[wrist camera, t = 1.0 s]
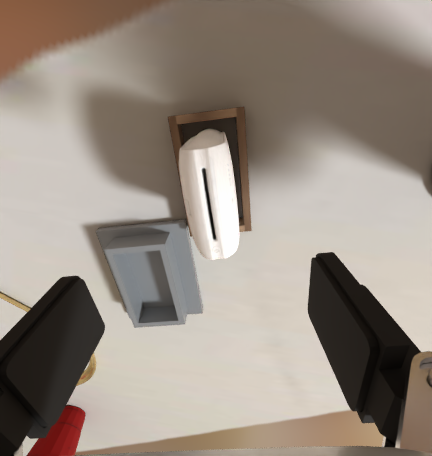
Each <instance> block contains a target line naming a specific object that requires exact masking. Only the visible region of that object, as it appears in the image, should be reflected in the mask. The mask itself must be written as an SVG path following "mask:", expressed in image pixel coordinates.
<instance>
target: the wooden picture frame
mask: <svg viewBox="0 0 432 456" xmlns="http://www.w3.org/2000/svg"><path fill="white" fill-rule="evenodd" d="M231 117H235V118H236V132H237V145H238V159H239V172H240V186H241V200H242V213H243V217H240V218H239V232H243V231H251V215H250V197H249V180H248V162H247V144H246V127H245V109H244V107H237V108H230V109H222V110H215V111H207V112H200V113H192V114H185V115H177V116H170V117H168V121H169V126H170V132H171V137H172V142H173V147H174V153H175V158H176V163H177V168H178V174H179V179H180V172H179V150H180V148H181V147H182V146H183V145H184V138H183V132H182V126H181V124H185V123H192V122H200V121H208V120H215V119H223V118H231ZM180 184H181V180H180ZM181 189H182V186H181ZM182 195H183V192H182ZM183 200H184V198H183ZM184 205H185V203H184ZM185 211H186V208H185ZM186 216H187V213H186ZM187 221H188V217H187ZM188 226H189V232H190V237H191V236H192V233H191V229H190V225H189V221H188Z"/></svg>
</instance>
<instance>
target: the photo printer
mask: <svg viewBox="0 0 432 456" xmlns="http://www.w3.org/2000/svg"><path fill="white" fill-rule="evenodd" d="M179 172H180V180H181V186H182V192H183V198H184V203H185V208H186V213H187V217H188V221H189V225H190V229H191V233H192V236H193V239H194V241H195V244H196V246H197V248H198V250H199V252H200V253H201V255H202V256H203V257H205V258H207V259H209V260H214V259H218V258H223V259H225V258H228V257H229V256H231V255H232V254H234V253H235V252H236V250H237V248H238V244H239V218H238V206H237V197H236V188H235V180H234V173H233V166H232V160H231V155H230V150H229V145H228V141H227V138H226V135H225V132H220V131H218V130H216V129H204V130H202V131H201V132H199V133H198V134H197V135H196V136H192V137H191V138H190V139H189V140H188V141H187V142H186V143H185V144H184V145H183V146H182V147H181V148H180V150H179Z"/></svg>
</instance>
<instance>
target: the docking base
mask: <svg viewBox="0 0 432 456" xmlns="http://www.w3.org/2000/svg"><path fill="white" fill-rule="evenodd" d="M96 234H97V236H98V239H99V241H100V244H101V246H102V249H103V252H104V254H105V257H106V259H107V262H108V264H109V267H110V269H111V272H112V275H113V277H114V280H115V282H116V285H117V287H118V290H119V292H120V295H121V298H122V300H123V303H124V305H125V308H126V310H127V313H128V315H129V318H131V320H132V322H133V325H134V328H137V327H151V326H166V325H181V324H185V321H186V315H187V314H199V313H203V306H202V301H201V295H200V290H199V285H198V280H197V275H196V269H195V264H194V259H193V254H192V249H191V243H190V238H189V233H188V228H187V223H186V219H185V220H175V221H165V222H155V223H145V224H135V225H125V226H115V227H105V228H99V229H98V230H97V231H96Z"/></svg>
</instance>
